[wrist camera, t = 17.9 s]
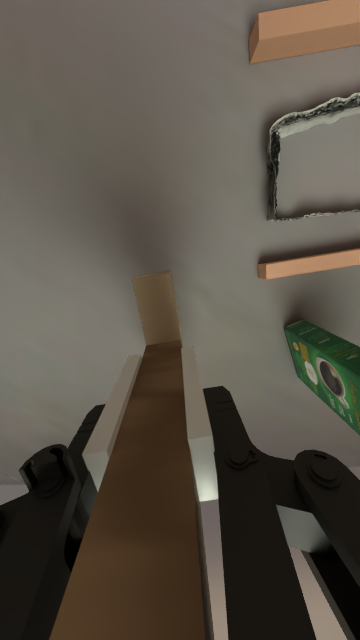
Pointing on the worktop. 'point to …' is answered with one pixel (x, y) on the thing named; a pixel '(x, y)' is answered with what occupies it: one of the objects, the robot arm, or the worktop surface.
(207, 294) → the worktop surface
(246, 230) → the worktop surface
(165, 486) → the wooden scraper
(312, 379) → the coffee box
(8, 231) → the worktop surface
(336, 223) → the worktop surface
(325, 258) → the tile bay
